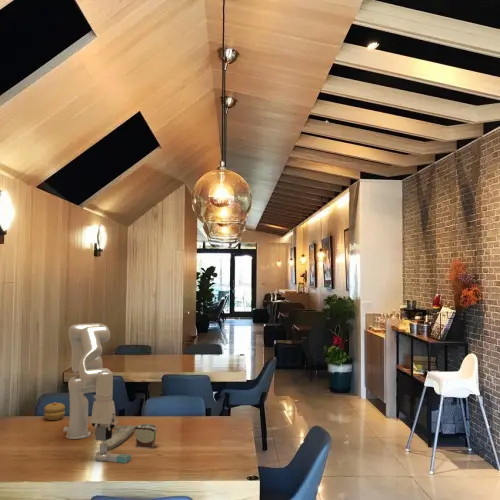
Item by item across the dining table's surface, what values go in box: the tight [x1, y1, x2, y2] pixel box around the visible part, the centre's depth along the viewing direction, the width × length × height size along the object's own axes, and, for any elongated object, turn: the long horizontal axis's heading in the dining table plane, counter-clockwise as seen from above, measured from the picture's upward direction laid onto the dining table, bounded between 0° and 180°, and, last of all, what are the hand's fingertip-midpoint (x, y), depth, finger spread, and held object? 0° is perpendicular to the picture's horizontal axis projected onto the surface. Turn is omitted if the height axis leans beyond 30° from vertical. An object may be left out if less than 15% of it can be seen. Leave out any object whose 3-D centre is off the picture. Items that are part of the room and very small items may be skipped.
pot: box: [43, 401, 66, 421], centre depth 303 cm, size 12×12×10 cm
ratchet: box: [94, 442, 132, 464], centre depth 233 cm, size 16×7×7 cm, turn 75°
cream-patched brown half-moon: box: [134, 423, 158, 450], centre depth 254 cm, size 12×6×10 cm, turn 71°
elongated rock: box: [101, 424, 135, 451], centre depth 263 cm, size 35×5×10 cm
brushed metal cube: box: [94, 424, 109, 442], centre depth 235 cm, size 5×5×6 cm
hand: (103, 437), depth 235 cm, fingers closed on brushed metal cube, 5 cm apart
